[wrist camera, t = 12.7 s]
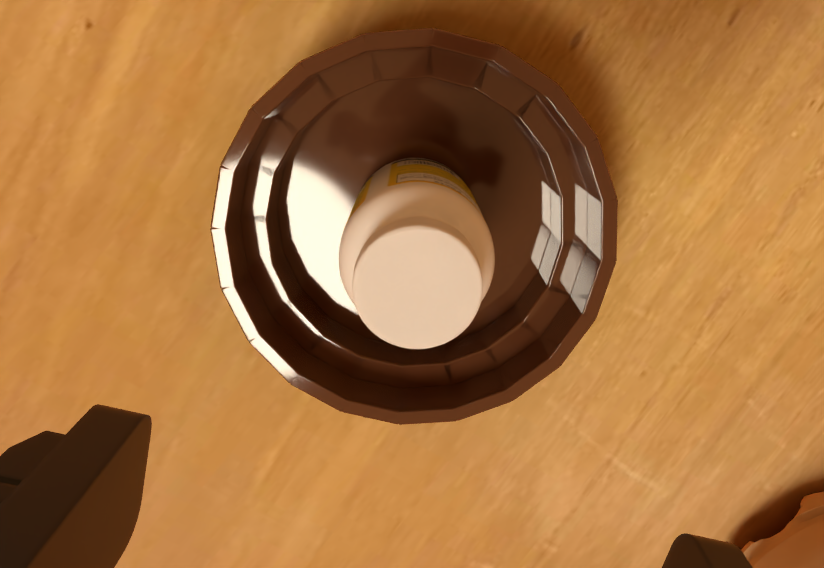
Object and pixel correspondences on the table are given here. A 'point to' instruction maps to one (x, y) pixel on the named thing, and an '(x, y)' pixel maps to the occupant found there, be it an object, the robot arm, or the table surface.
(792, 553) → the container
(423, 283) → the supplement bottle
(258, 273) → the bowl
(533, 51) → the table surface
